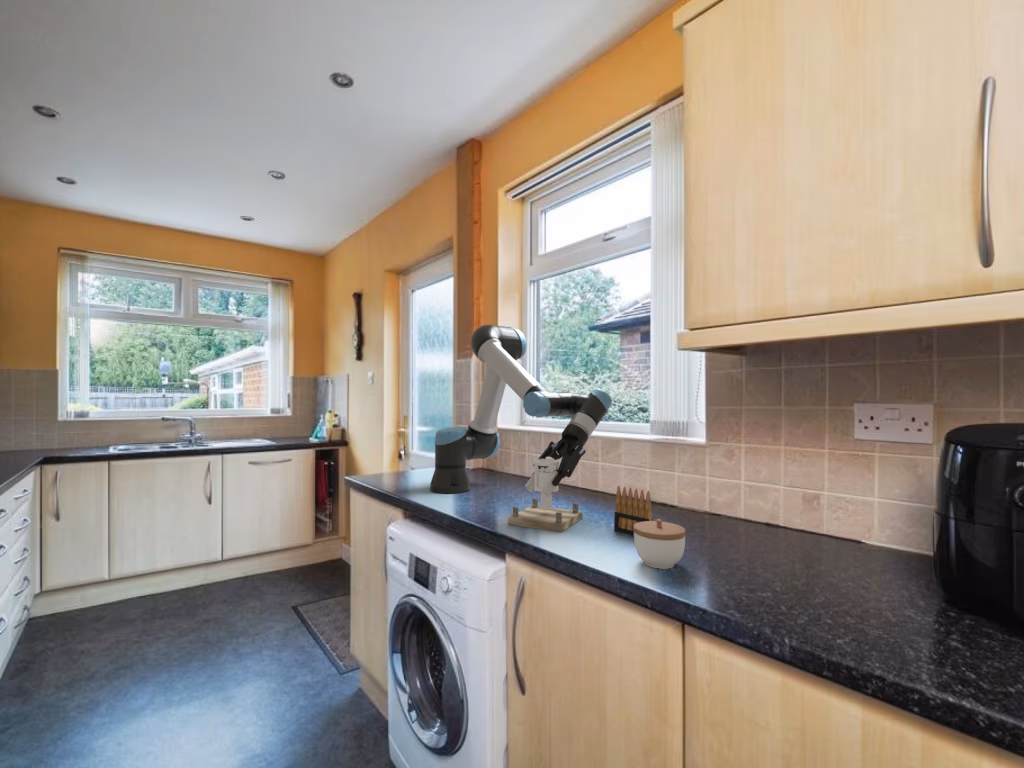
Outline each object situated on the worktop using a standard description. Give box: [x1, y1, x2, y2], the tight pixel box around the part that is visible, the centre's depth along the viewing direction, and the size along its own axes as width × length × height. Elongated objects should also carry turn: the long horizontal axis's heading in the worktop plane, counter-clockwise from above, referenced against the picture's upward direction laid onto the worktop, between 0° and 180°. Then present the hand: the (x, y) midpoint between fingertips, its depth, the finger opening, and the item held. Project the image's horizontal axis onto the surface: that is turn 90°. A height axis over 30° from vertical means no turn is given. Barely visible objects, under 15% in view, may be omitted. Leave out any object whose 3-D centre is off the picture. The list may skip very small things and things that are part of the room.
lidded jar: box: [633, 518, 687, 570], centre depth 101 cm, size 11×11×9 cm
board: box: [507, 497, 583, 533], centre depth 135 cm, size 16×16×4 cm
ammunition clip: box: [613, 485, 654, 537], centre depth 123 cm, size 11×2×12 cm, turn 43°
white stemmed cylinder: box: [533, 457, 560, 510], centre depth 135 cm, size 7×7×15 cm
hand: (536, 491), depth 133 cm, fingers closed on white stemmed cylinder, 7 cm apart
